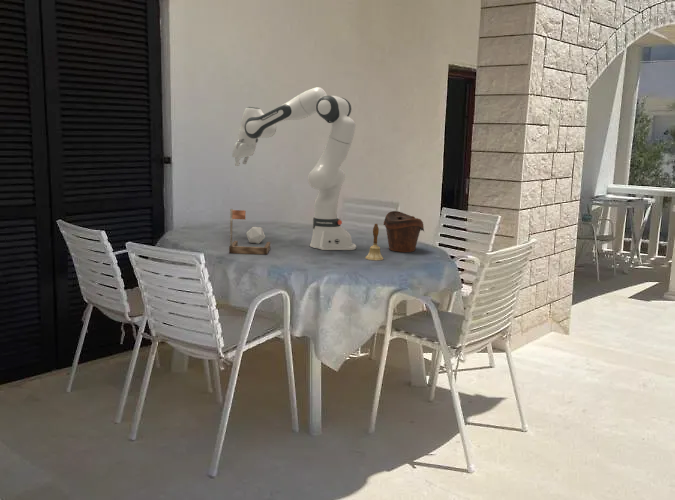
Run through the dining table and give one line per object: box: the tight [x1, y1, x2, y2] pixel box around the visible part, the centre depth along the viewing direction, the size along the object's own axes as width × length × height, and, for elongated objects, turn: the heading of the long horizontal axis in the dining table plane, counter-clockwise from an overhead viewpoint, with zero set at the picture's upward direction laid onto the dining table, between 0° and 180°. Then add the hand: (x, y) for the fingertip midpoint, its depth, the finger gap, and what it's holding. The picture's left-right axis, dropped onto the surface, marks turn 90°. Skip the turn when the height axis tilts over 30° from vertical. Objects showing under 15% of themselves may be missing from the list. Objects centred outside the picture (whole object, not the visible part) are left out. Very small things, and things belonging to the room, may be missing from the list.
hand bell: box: [364, 223, 384, 261], centre depth 301 cm, size 8×8×16 cm
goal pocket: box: [228, 208, 271, 256], centre depth 308 cm, size 17×16×20 cm
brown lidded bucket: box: [383, 210, 425, 253], centre depth 324 cm, size 18×20×18 cm
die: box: [245, 226, 266, 245], centre depth 330 cm, size 8×9×10 cm
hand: (240, 164), depth 341 cm, fingers open, 8 cm apart
